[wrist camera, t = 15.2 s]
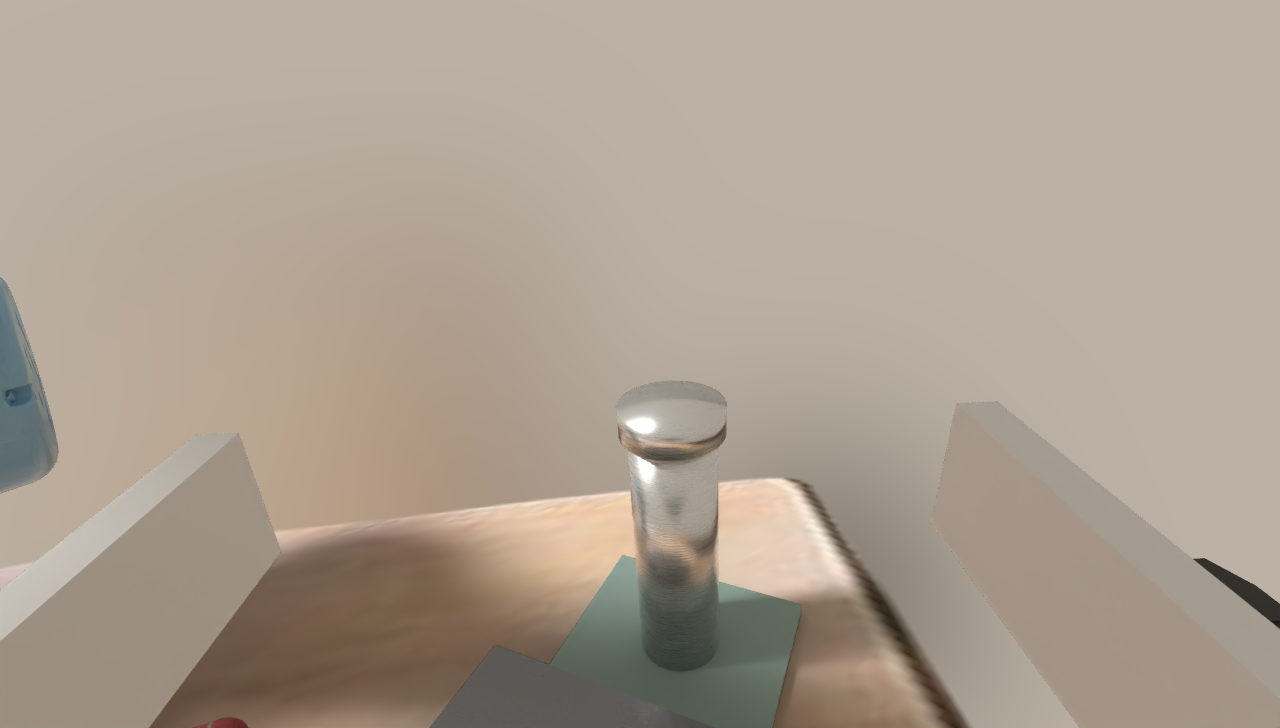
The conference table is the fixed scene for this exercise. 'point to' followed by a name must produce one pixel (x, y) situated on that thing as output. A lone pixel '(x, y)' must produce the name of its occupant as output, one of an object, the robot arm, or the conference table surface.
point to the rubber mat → (712, 694)
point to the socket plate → (546, 700)
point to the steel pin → (675, 516)
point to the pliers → (225, 723)
